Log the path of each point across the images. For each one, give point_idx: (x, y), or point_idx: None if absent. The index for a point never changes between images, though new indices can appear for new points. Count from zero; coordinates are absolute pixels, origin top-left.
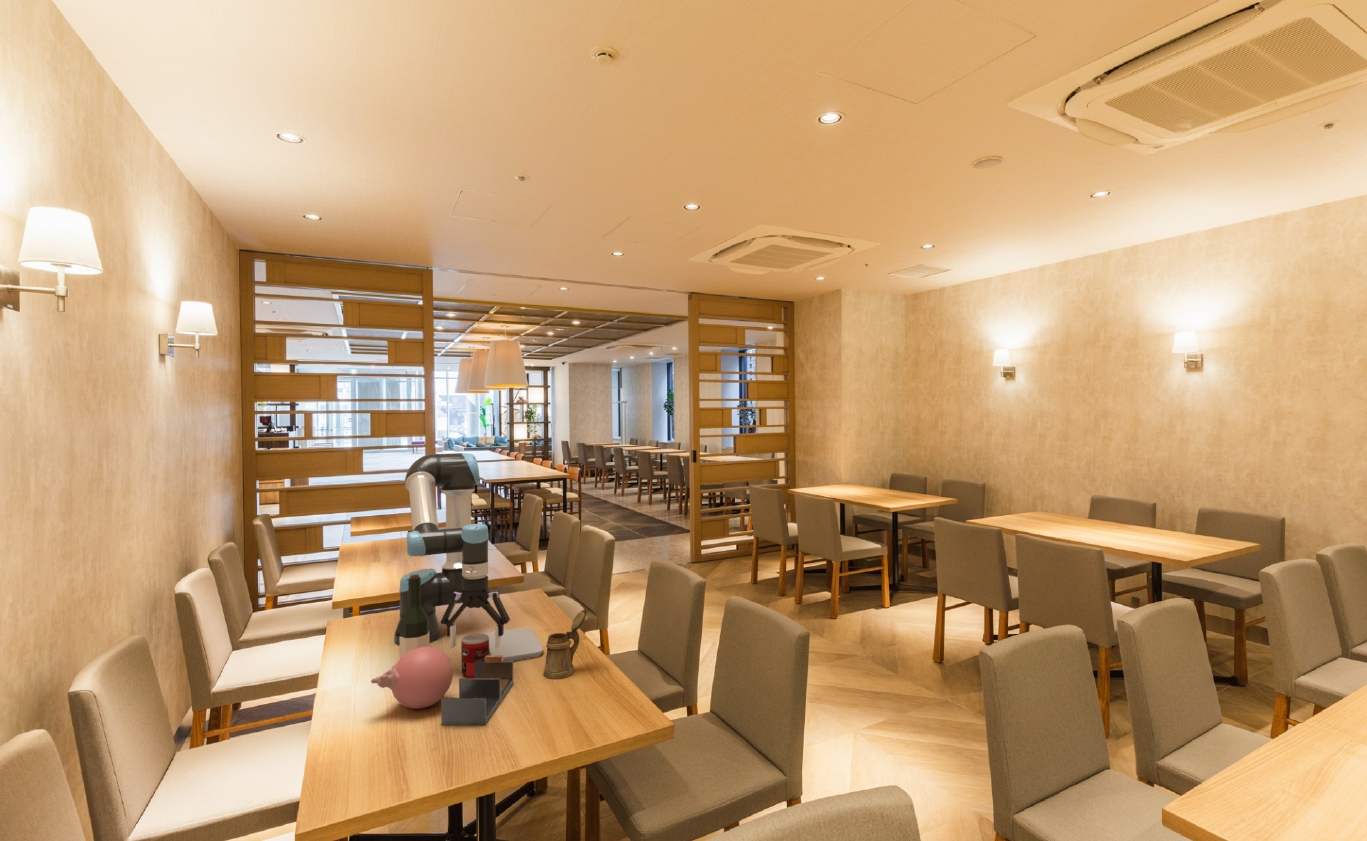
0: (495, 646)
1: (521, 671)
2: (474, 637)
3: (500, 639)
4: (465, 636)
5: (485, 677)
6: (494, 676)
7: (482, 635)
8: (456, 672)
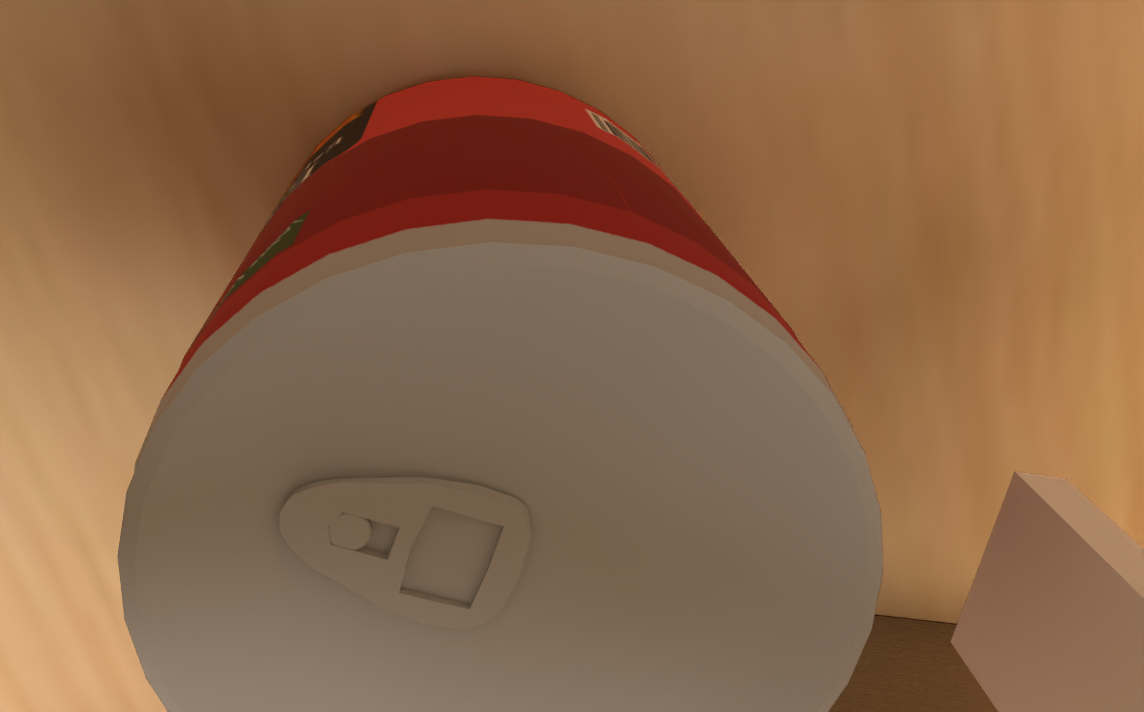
0: (971, 664)
1: (1139, 283)
2: (474, 506)
3: (1139, 553)
4: (182, 468)
5: None
6: None
7: (690, 377)
8: (163, 163)
